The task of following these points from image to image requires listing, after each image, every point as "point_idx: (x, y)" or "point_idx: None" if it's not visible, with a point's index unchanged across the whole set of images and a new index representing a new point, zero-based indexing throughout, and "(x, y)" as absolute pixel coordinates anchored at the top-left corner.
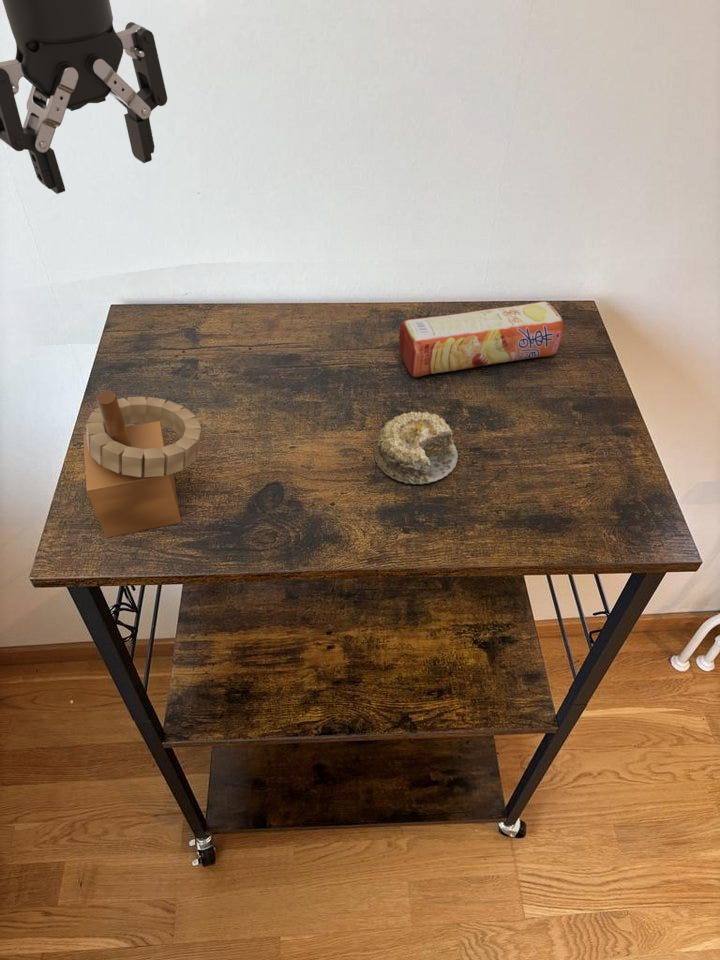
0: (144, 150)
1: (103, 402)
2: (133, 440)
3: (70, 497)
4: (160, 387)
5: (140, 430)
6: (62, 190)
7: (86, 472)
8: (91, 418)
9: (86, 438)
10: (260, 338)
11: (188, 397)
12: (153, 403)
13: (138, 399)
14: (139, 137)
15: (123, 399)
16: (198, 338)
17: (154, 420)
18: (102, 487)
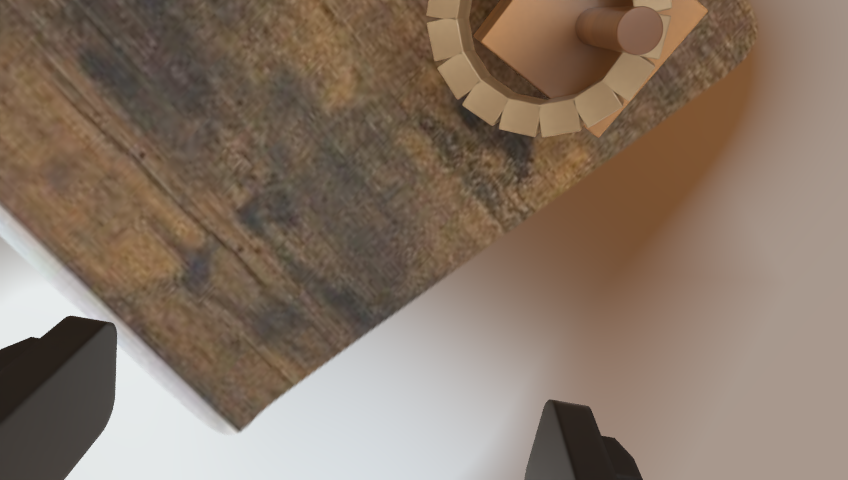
0: (73, 346)
1: (658, 20)
2: (555, 41)
3: (622, 133)
4: (336, 212)
5: (525, 52)
6: (563, 403)
7: (672, 49)
8: (607, 109)
9: (603, 124)
10: (105, 161)
11: (320, 152)
12: (467, 72)
13: (480, 104)
14: (40, 397)
15: (505, 123)
16: (194, 255)
17: (479, 61)
18: None
